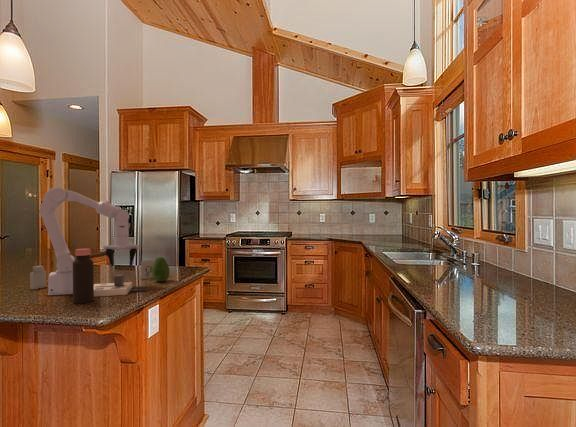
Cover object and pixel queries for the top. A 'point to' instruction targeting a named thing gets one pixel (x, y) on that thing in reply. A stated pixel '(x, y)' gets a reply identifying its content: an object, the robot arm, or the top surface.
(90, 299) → the bottle
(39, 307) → the top surface
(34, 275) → the power adapter
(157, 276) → the avocado
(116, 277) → the breaker slider
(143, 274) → the electrical switch
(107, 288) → the power strip
